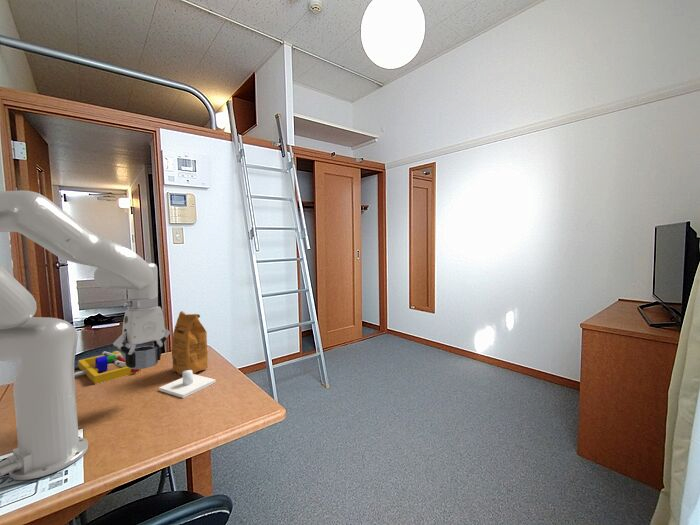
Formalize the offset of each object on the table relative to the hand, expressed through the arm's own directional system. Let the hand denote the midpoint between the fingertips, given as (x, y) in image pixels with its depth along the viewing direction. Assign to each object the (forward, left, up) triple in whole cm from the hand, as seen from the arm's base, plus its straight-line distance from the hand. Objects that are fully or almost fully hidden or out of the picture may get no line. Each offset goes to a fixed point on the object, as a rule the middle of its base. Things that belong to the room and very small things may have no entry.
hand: (144, 362), depth 94 cm
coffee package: (+22, +9, -12) cm, 26 cm away
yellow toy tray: (+7, +40, -13) cm, 43 cm away
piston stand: (+12, -3, -12) cm, 17 cm away
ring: (0, 0, -1) cm, 1 cm away
